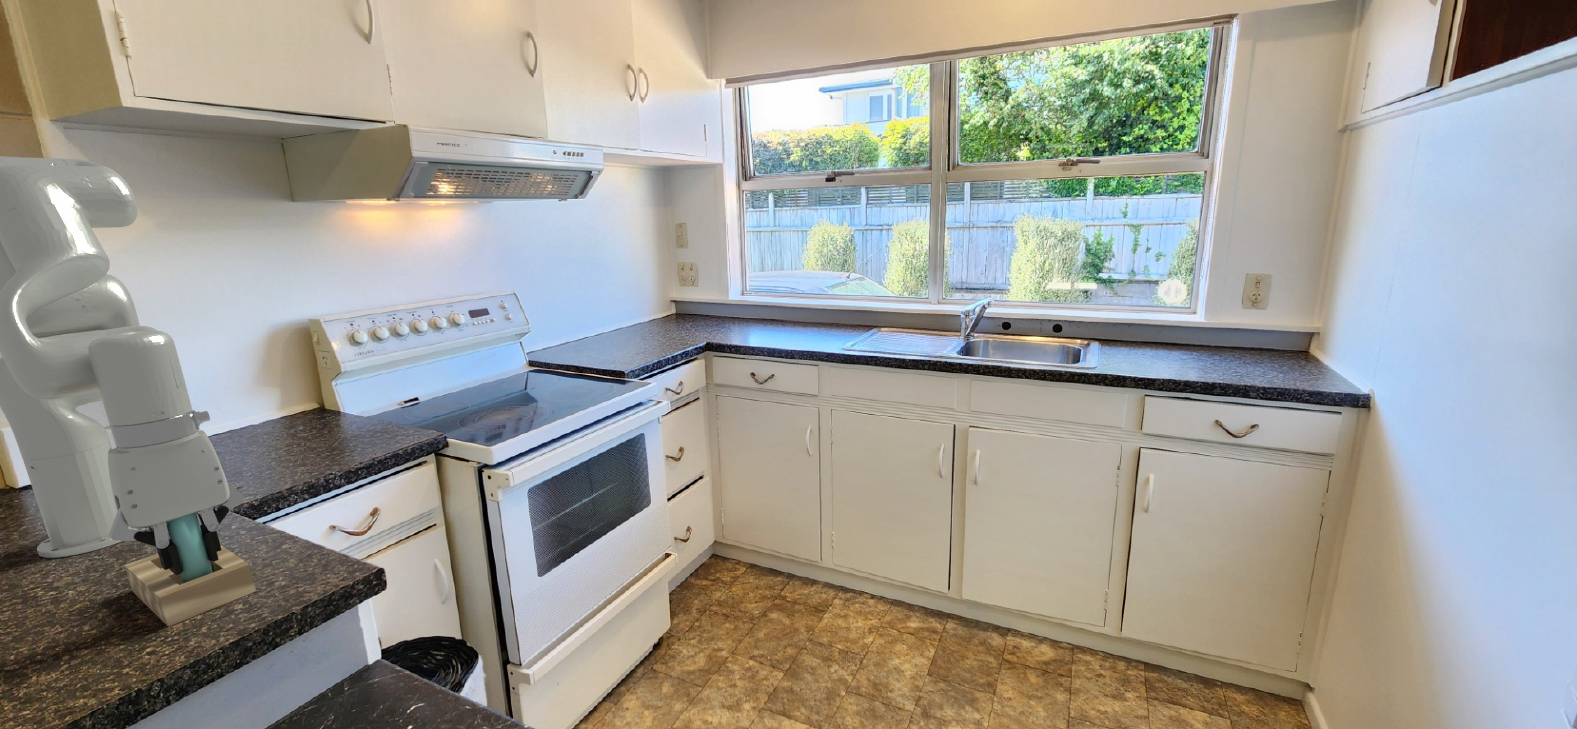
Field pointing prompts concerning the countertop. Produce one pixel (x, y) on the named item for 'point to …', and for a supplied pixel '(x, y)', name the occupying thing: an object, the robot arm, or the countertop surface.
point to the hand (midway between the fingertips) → (194, 564)
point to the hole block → (189, 586)
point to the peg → (190, 547)
